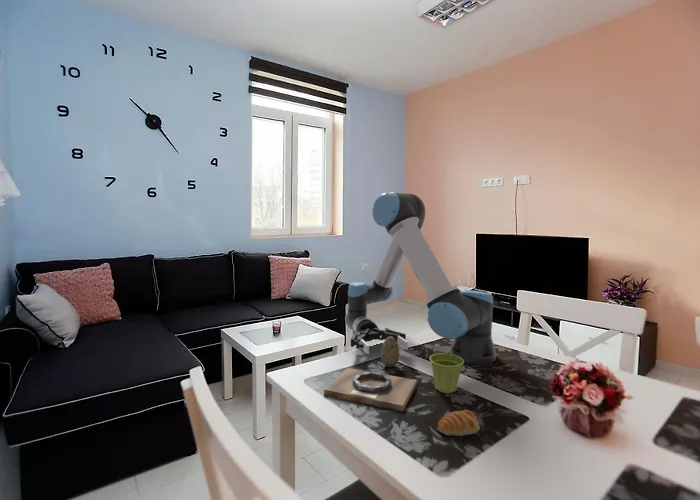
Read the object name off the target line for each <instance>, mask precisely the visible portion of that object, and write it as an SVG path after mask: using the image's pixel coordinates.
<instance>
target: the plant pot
mask: <svg viewBox="0 0 700 500" xmlns="http://www.w3.org/2000/svg"><path fill="white" fill-rule="evenodd" d="M429 362H430V363H431V367H432V374H433V375H432V376H433V385H434V389H435V390H437V391H439V392H440V393H443V394H452V393H453V392H454V393H455V392H456V391H457V389H458V388H457V387H458V383H459V378H460V373H461V369H462V367H463V365H464V363H465V362H464V360H463V359H462V358H461V357H459V356H456V355H453V354H450V353H446V352H444V353H442V352H441V353H434V354H432V355H430V356H429Z"/></svg>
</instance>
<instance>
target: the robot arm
mask: <svg viewBox="0 0 700 500" xmlns="http://www.w3.org/2000/svg"><path fill="white" fill-rule="evenodd" d="M371 211H372V218H373V220H374V223H376V224H377V225H378V226H380V227H384V228H385V230H386V232H387V233H388V236H390V237H392V239H391V241H390V243H389V245H388V248H387V250H386V252H385V254H384V257H383V259H382V262H381V264H380V266H379V268H378V270H377V273H376V275H375V278H374V279H373V281H372V283H371V284H370V285H368V284H367V283H366V282H363V281H362V282H361V281H355V282H350V283H349V285H348V290H347V302H348V303H347V304H348V305H347V309H348V310H347V312H346V315H345V316H344V320H345V323H346V325H347V327H348V328H349V329H350V330H352V336H351V337H350V347H355V349H356V350H362V351H364V353H365V354H366V355H370V345H369V344H368V343H367V342H370V341H373V340H378V341H385V340H386V338H387V337H389V336H392V337H394V339H395V340H396V342H397V345H398V346H400V347H401V348H403V349H404V350H407V351H408V347H409V344H408V343H409V341H408V340H407V337H406V335H407V334H406V333H403V332H399V331H396V330H393V329H390V328H388V327H384V329H380V328H379V327H378V325H377V324H376V323H375V322H374V321H372V320H371V319H370V318H368V317H367V316H368V314H367V313H368V305H372V304H375V303H381V302H384V301H385V302H386V301H387V300H389V299H391V297H392V296H393V287H392V286H393V283H394V281H395V279H396V277H397V274H398V273H399V271H400V268H401V266H402V264H403V261H404V260H405V258H406V259H407V261H408V263H409V266H410V267H411V269H412V271H413V273H414V275H415V277H416V279H417V280H418V281H419V284H420V285H421V288H422V289H423V291H424V293H425V295H426V297H427V299H426V303H425V305H426V306H427V308H428V310H427V318H426V319H427V323H428V325H429V328H430V329H431V330H432V332H434V333H435V334H436V335H437V336H439V337H441V338H443V339H448V340H449V339H453V340H452V343H451V344H450V350H449V354H453V355H456V356H459V357H461V358H462V359H463V360H464V363H466V364H471V365H487V364H493V363H494V362H495V361H496V358H497V357H496V356H497V352H496V349H495V345H494V342H493V337H492V328H493V327H492V326H493V311H494V310H493V309H494V298H493V295H492V294H491V293H489V292H485V291H480V290H472V289H459V287H456V286H453V285H452V284H451V282H450V280H449V279H448V277H447V276H446V273H445V272H444V270H443V268H442V267H441V265H440V263H439V262H438V260H437V258H436V256H435V253H434V252H433V251H432V249H431V247H430V245H429V244H428V242H427V240H426V238H425V236H424V235H423V233H422V231H421V229H422V227H423V226H424V221H425V218H426V207H425V203H424V202H423V200H422V198H420V197H419V196H418V195H416V194H413V193H403V192H402V193H401V192H400V193H399V192H393V191H390V192H384V193H382V194H379V196H378V197H377V198H376V199H375V200H374V202H373V206H372V209H371Z"/></svg>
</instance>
